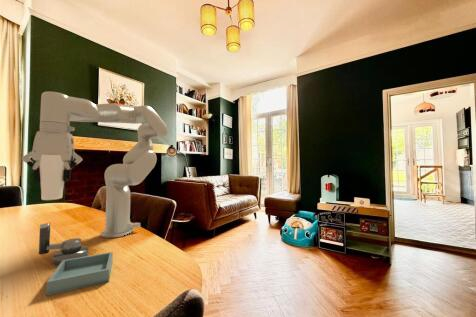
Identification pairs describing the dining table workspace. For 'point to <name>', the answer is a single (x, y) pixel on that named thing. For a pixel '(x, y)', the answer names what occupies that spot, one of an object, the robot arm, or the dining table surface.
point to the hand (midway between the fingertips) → (52, 180)
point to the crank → (65, 246)
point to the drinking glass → (51, 177)
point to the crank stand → (69, 255)
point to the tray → (80, 273)
